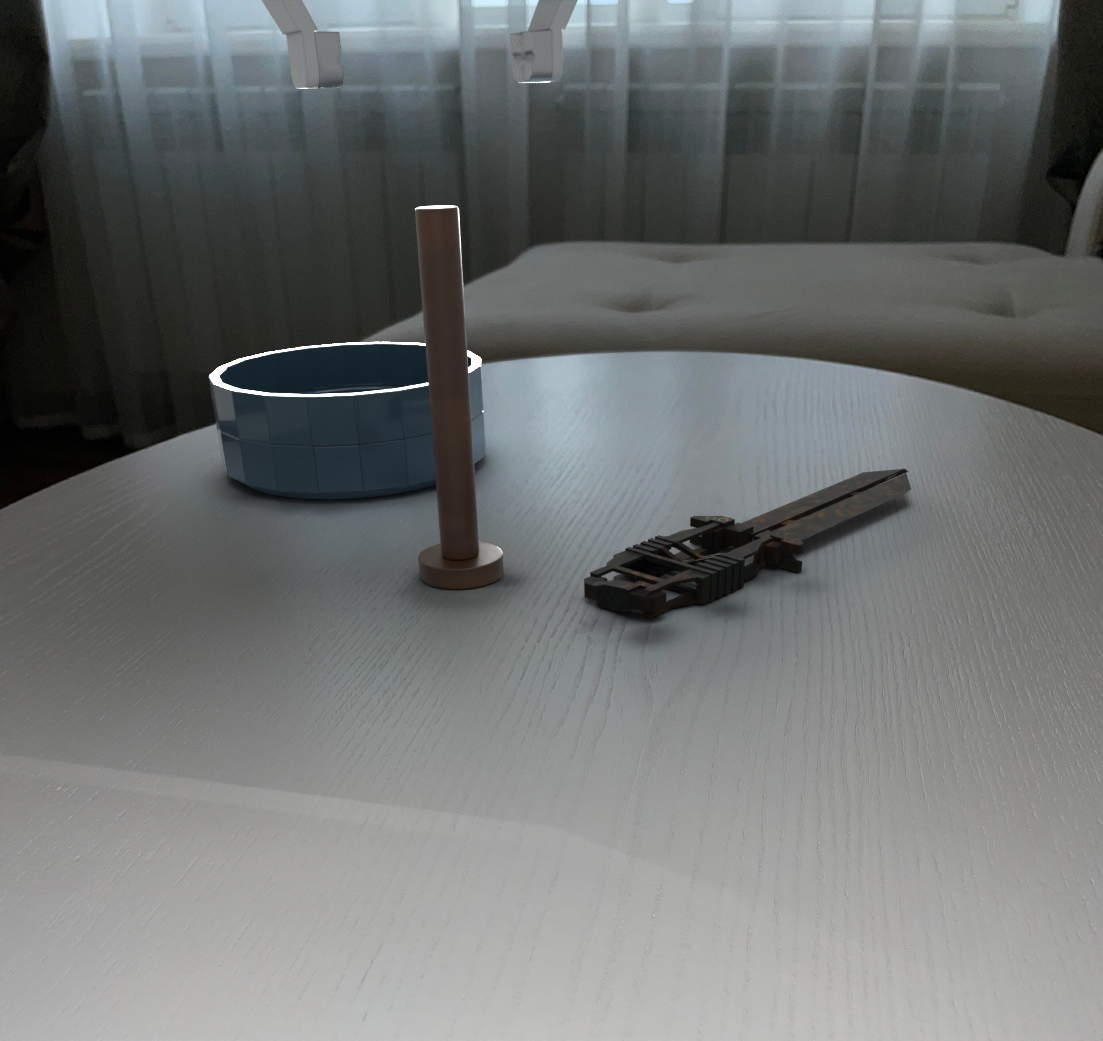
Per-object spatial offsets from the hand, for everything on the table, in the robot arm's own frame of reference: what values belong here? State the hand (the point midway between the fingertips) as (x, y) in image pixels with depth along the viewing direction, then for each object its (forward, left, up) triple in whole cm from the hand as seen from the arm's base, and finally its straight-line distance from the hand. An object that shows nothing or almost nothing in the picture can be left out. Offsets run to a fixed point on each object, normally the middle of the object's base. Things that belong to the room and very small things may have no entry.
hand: (432, 85), depth 45 cm
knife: (+14, +8, -21) cm, 26 cm away
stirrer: (0, 0, -20) cm, 20 cm away
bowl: (-13, +17, -20) cm, 29 cm away
